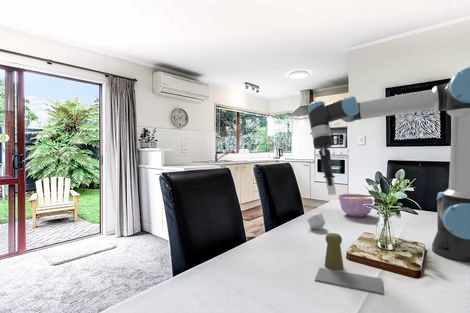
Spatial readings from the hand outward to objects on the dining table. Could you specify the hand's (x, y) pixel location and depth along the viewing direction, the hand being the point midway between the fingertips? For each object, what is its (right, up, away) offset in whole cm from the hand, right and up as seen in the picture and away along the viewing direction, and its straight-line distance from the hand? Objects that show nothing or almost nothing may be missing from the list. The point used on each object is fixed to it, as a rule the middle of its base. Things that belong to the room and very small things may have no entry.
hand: (332, 194), depth 102 cm
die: (+3, -22, +31) cm, 38 cm away
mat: (-4, -23, -23) cm, 33 cm away
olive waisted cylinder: (-4, -23, -13) cm, 27 cm away
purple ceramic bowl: (+36, -21, +57) cm, 71 cm away
